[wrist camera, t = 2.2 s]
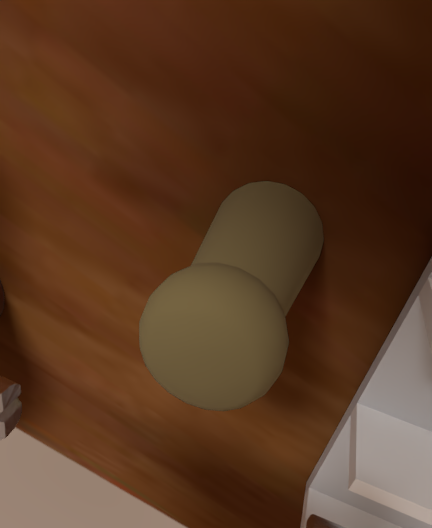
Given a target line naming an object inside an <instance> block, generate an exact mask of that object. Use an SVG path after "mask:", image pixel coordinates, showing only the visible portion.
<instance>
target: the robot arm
mask: <svg viewBox="0 0 432 528" xmlns="http://www.w3.org/2000/svg"><path fill="white" fill-rule="evenodd" d="M20 394H21V387H20V384H18V383H15V382H13V381H11V380H9V379H6V378H4V377H2V376H0V440H2V439H4V438H6V437H7V436H8V435H9V434H10V432H11V431H12V430H13V429H14V428H15V426H16V424H17V423H18V421H19V419H20V416H21V413H22V404H21V402H20V401H19V399H18V398H17V397H18V396H19V395H20ZM306 528H345V527H343V526H341V525H338V524H336V523H334V522H331V521H329V520H326V519H324V518H322V517H319V516H317V515H315V514H312V515H310V517H309V518H308V520H307V524H306Z"/></svg>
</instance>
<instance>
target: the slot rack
mask: <svg viewBox="0 0 432 528" xmlns="http://www.w3.org/2000/svg"><path fill="white" fill-rule="evenodd" d="M312 514H315V515H317V516H319V517H322V518H324V519H326V520H329V521H331V522H334V523H336V524H338V525H341V526H343V527H345V528H432V257H431V259H430V261H429V263H428V264H427V266H426V268H425V270H424V272H423V273H422V275H421V277H420V279H419V281H418V282H417V284H416V286H415V288H414V290H413V291H412V293H411V295H410V297H409V299H408V300H407V302H406V304H405V306H404V308H403V309H402V311H401V313H400V315H399V317H398V318H397V320H396V322H395V324H394V326H393V327H392V329H391V331H390V333H389V335H388V336H387V338H386V340H385V342H384V344H383V345H382V347H381V349H380V351H379V353H378V354H377V356H376V358H375V360H374V362H373V363H372V365H371V367H370V369H369V371H368V372H367V374H366V376H365V378H364V380H363V381H362V383H361V385H360V387H359V389H358V390H357V392H356V394H355V396H354V398H353V400H352V401H351V403H350V405H349V407H348V409H347V410H346V412H345V414H344V416H343V418H342V419H341V421H340V423H339V425H338V427H337V428H336V430H335V432H334V434H333V436H332V437H331V439H330V441H329V443H328V445H327V446H326V448H325V450H324V452H323V454H322V455H321V457H320V459H319V461H318V463H317V464H316V466H315V468H314V470H313V472H312V473H311V475H310V477H309V479H308V481H307V482H306V489H305V496H304V504H303V512H302V519H301V527H300V528H306V524H307V520H308V518H309V517H310V515H312Z"/></svg>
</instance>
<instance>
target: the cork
mask: <svg viewBox="0 0 432 528" xmlns="http://www.w3.org/2000/svg"><path fill="white" fill-rule="evenodd" d="M323 242H324V236H323V226H322V221H321V219H320V217H319V215H318V213H317V211H316V209H315V207H314V206H313V205H312V204H311V202H310V201H309V200H308V199H307V198H306V197H305V196H304V195H303V194H302V193H300V192H298V191H297V190H295V189H293V188H291V187H289V186H287V185H285V184H281V183H275V182H270V181H262V182H254V183H248V184H246V185H244V186H242V187H240V188H238V189H236V190H234V191H233V192H232V193H231V194H230V195H229V196H228V197H227V198H226V199H225V200H224V201H223V202H222V204H221V206H220V208H219V210H218V212H217V214H216V216H215V218H214V220H213V222H212V224H211V226H210V228H209V230H208V232H207V234H206V236H205V238H204V240H203V242H202V244H201V246H200V248H199V250H198V252H197V254H196V256H195V258H194V260H193V262H192V264H191V266H190V267H187V268H185V269H182V270H180V271H178V272H176V273H174V274H172V275H170V276H169V277H168V278H167V279H166V280H165V281H164V282H163V283H162V284H161V285H160V286H159V287H158V288H157V289H156V290H155V291H154V292H153V293H152V294H151V295H150V297H149V300H148V302H147V304H146V307H145V309H144V311H143V314H142V317H141V319H140V322H139V343H140V350H141V353H142V356H143V359H144V362H145V365H146V367H147V368H148V370H149V371H150V373H151V374H152V376H153V377H154V379H155V380H156V381H157V382H158V383H159V384H160V385H161V386H162V387H163V388H164V389H166V390H167V391H168V392H169V393H170V394H172V395H173V396H175V397H177V398H178V399H180V400H182V401H183V402H185V403H187V404H190V405H193V406H196V407H199V408H202V409H205V410H215V411H228V410H233V409H239V408H242V407H244V406H246V405H248V404H249V403H251V402H253V401H255V400H257V399H258V398H260V397H262V396H264V395H265V394H266V393H267V391H268V390H269V389H270V387H271V386H272V385H273V384H274V382H275V381H276V380H277V378H278V377H279V375H280V374H281V372H282V370H283V366H284V362H285V358H286V353H287V349H288V345H289V338H288V332H287V325H286V319H285V316H286V315H287V313H288V311H289V309H290V307H291V306H292V304H293V302H294V300H295V299H296V297H297V295H298V293H299V292H300V290H301V288H302V286H303V285H304V283H305V281H306V279H307V278H308V276H309V274H310V272H311V271H312V269H313V267H314V265H315V263H316V262H317V260H318V258H319V256H320V253H321V249H322V245H323Z"/></svg>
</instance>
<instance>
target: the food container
mask: <svg viewBox="0 0 432 528" xmlns="http://www.w3.org/2000/svg"><path fill="white" fill-rule="evenodd" d="M3 309H4V292H3V287H2V284H1V280H0V316H1V314H2V312H3Z"/></svg>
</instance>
